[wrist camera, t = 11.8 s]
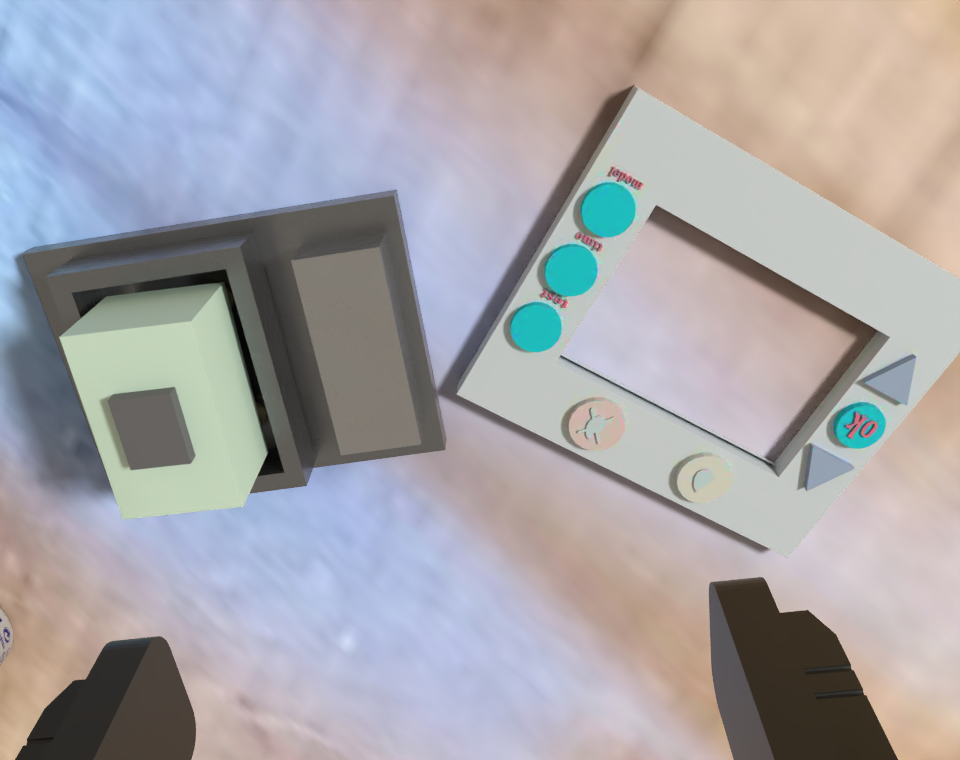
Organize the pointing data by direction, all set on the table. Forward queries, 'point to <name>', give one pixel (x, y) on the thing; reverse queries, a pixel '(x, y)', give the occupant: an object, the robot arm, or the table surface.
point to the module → (168, 399)
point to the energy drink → (5, 635)
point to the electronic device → (769, 241)
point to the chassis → (286, 321)
